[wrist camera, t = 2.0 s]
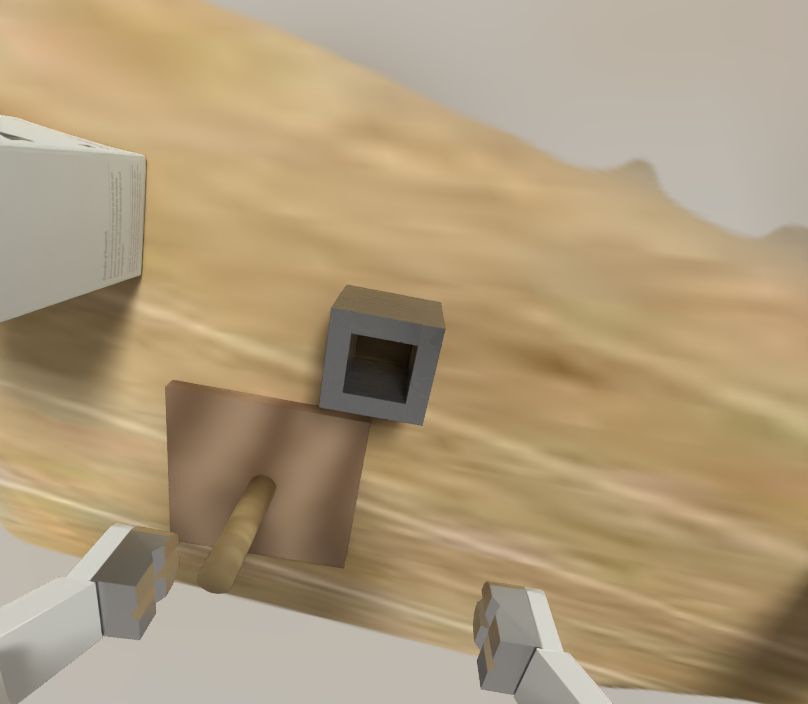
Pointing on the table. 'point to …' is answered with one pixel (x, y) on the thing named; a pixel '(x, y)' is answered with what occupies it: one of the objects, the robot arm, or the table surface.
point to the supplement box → (65, 216)
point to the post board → (268, 449)
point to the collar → (375, 381)
